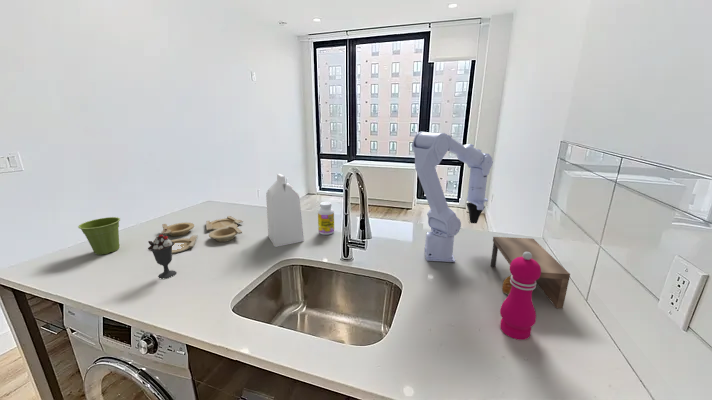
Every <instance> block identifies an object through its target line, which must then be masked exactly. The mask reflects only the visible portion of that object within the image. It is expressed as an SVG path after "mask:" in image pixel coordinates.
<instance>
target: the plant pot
mask: <svg viewBox="0 0 712 400" xmlns="http://www.w3.org/2000/svg"><path fill="white" fill-rule="evenodd" d="M120 221H121V217H118V216H117V217H116V216H115V217H114V216H112V217H111V216H110V217H101V218H96V219H92V220H89V221H85V222H82V223H81V224H79V225H78V226H77V228H78V229H80V230H81V232H82V233H83V234H84V236H85V238H86V239H87V241H88V243H89V245H90V247H91V248H92V251H93V253H94V254H95V255H97V256H98V255H99V256H100V255H101V256H102V255H108V254H110V253H114V252H116V251H118V250H119V249H120V235H119V234H120V233H119V232H120V231H119V227H120Z"/></svg>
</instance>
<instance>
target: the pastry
mask: <svg viewBox="0 0 712 400" xmlns="http://www.w3.org/2000/svg"><path fill="white" fill-rule="evenodd" d="M510 280H511V275H508V276H507V277H506V278H505V279H504V280H503V281H502V288H501V289H502V290H501V291H502V293H503V294H506V295H507V296H508V295H509V293H510V291H511V288H512V284H511V283H510Z"/></svg>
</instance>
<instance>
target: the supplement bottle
mask: <svg viewBox="0 0 712 400" xmlns="http://www.w3.org/2000/svg"><path fill="white" fill-rule="evenodd" d="M319 207H320V208H319V209H318V210H317V226H318V228H317V229H318V233H319V234H320V235H324V236H328V235H332V234H333V233H334V232H335V210H334V208H332V202H330V201H323V202H322V201H321V202H320V203H319Z"/></svg>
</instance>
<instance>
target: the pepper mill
mask: <svg viewBox="0 0 712 400" xmlns="http://www.w3.org/2000/svg"><path fill="white" fill-rule="evenodd" d="M509 272H510V274H511V275H510V276H511V280H510V283H511V284H512V288H511V291H510V293H509V295H508V294H507V297H506V298H505V299H504V300H503V302H502V303H501V306H500V308H499V314H500V317H501V320H500V325H499V327H500V330H501V332H502V333H503V334H505V335H506V336H507V337H509V338H511V339H514V340H518V341H524V340H525V341H526V340H528V338H530V337H531V333H532V327H533V326H534V325H535V324H536V319H537V314H536V313H537V312H536V309H535V306H534V303H533V291H534V290H535V289H536V287H537V283H536V280H537V279H539V277H540V275H541V267H540V265H539V264H538V263H537V262H536V261H535V260H533V259H532V254H531V253H530V252H524V253H523V257H517V258H515V259H513V260H512V262H511V264H510V265H509Z"/></svg>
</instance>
